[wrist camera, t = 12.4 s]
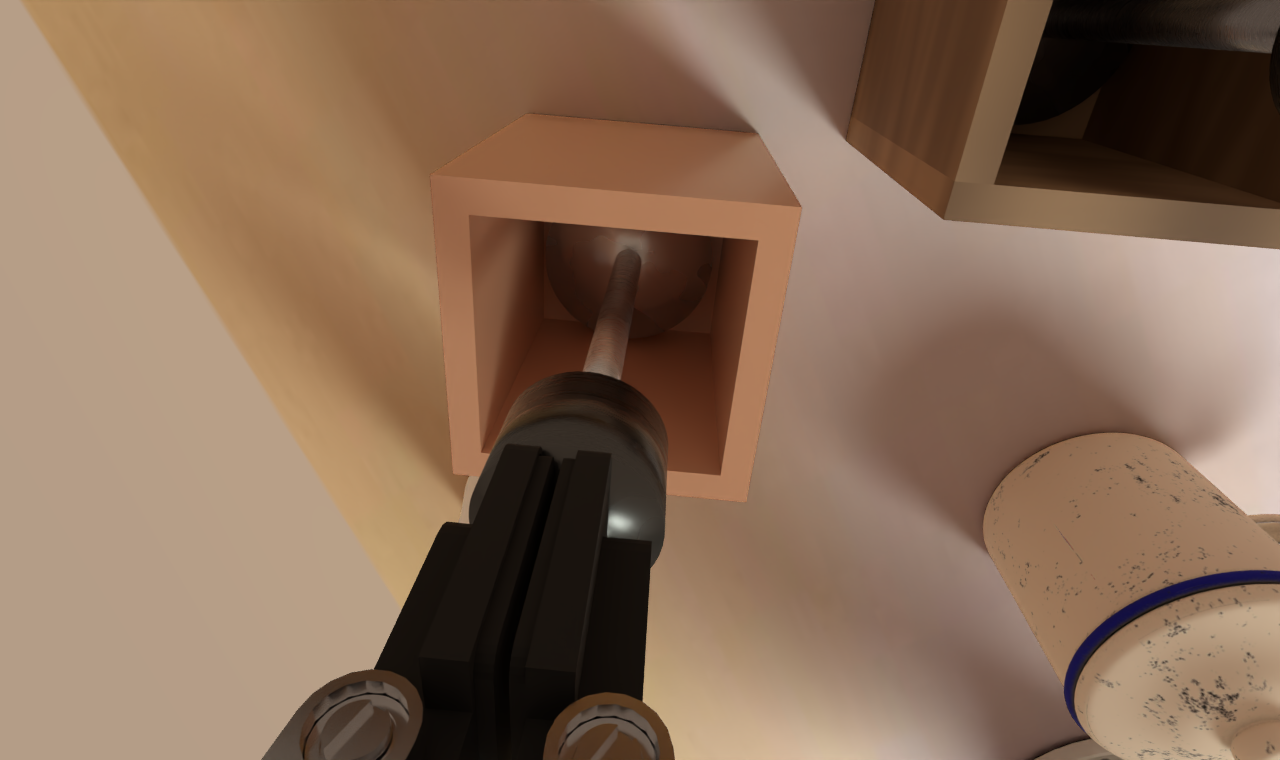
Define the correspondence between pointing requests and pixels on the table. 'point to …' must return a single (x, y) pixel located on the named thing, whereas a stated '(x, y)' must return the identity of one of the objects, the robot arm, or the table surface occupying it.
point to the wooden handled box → (1067, 129)
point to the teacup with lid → (1145, 597)
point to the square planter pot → (630, 199)
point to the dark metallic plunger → (1137, 14)
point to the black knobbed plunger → (610, 365)
